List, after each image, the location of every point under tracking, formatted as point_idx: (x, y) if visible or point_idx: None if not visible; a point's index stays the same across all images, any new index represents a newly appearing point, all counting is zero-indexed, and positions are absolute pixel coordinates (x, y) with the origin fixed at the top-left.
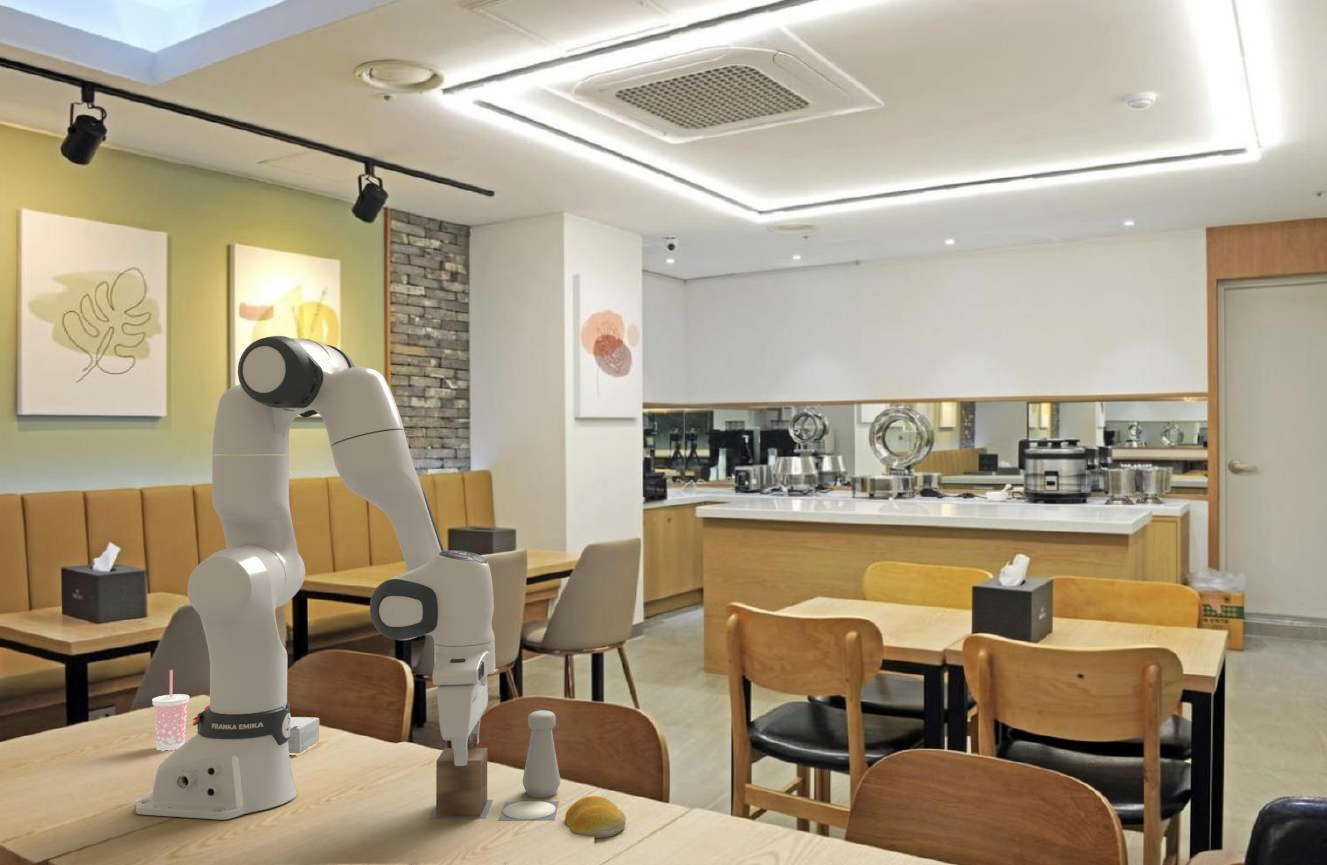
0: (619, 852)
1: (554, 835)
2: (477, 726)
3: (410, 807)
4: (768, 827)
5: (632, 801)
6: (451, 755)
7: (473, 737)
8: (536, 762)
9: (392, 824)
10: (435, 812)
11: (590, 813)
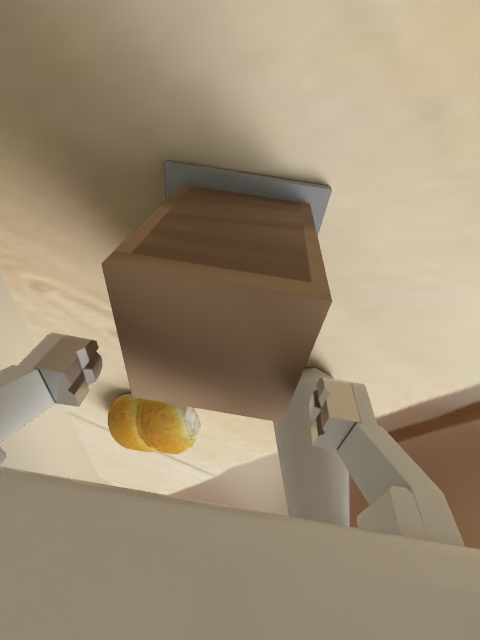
0: (78, 416)
1: (120, 375)
2: (360, 483)
3: (330, 66)
4: (164, 494)
5: (253, 453)
6: (193, 323)
7: (316, 429)
8: (283, 444)
9: (148, 3)
10: (217, 179)
11: (114, 433)
